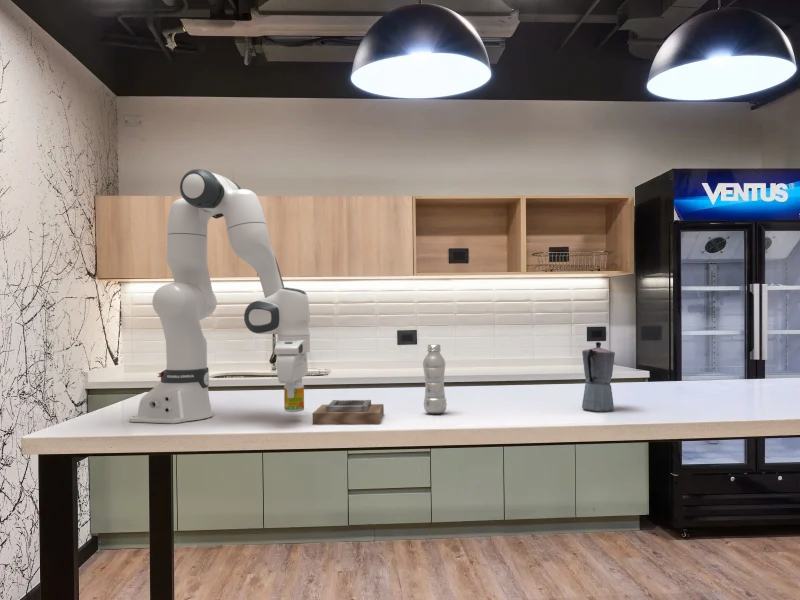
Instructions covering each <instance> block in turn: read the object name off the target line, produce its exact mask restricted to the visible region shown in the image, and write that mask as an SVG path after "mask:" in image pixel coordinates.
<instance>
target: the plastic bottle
mask: <svg viewBox="0 0 800 600" xmlns="http://www.w3.org/2000/svg"><path fill="white" fill-rule="evenodd" d="M426 351H427V352H428V353H427V354H426V356H425V357H424V359H423V362H422V366H423V374H424V382H425V383H424V384H425V386H424V389H425V391H424V399H423V408H424V411H425V413H428V414H432V415H438V414H443V413H445V412H446V411H447V405H448V404H447V398H446V393H445V391H446V390H445V371H446V361H445V359H444V357H443V356H442V354H441V344H427V350H426Z"/></svg>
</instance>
